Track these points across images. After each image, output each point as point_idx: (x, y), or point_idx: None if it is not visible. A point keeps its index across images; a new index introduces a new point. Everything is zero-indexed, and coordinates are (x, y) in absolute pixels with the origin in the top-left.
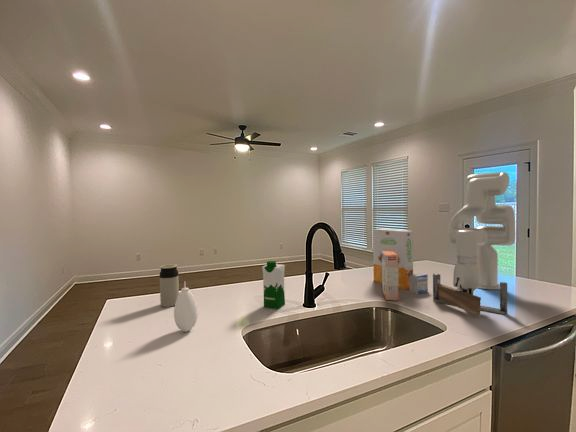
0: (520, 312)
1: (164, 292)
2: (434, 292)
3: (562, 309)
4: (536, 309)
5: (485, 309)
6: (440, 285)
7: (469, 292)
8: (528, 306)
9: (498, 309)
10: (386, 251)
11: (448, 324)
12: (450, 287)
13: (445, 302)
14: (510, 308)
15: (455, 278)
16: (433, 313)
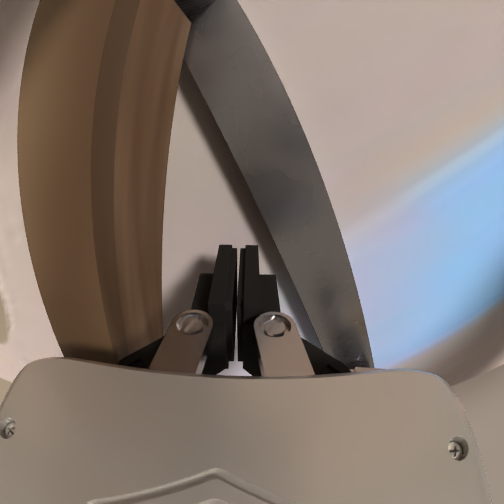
0: (411, 366)
1: None
2: None
3: (496, 363)
4: (473, 354)
5: (313, 326)
6: (34, 21)
7: (257, 372)
8: (494, 329)
9: (356, 356)
10: None
11: (18, 324)
12: (79, 207)
13: (193, 72)
14: (443, 329)
15: (2, 486)
16: (2, 217)
